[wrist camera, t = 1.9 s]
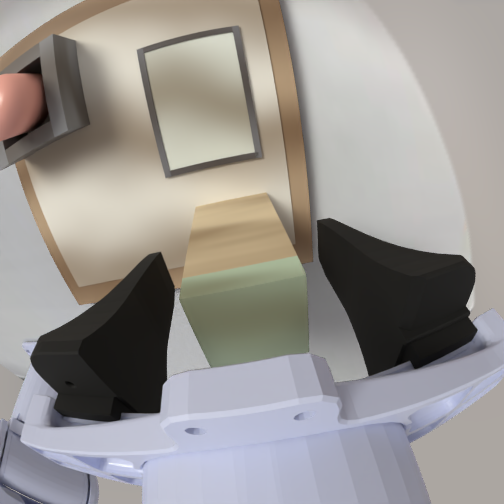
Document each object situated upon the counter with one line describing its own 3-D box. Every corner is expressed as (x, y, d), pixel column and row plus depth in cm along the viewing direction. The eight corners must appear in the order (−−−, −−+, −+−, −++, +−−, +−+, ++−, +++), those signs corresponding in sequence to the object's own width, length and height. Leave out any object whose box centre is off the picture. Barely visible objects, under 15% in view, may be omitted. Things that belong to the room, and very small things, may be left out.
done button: (57, 116, 9) (25, 123, 6) (17, 140, 9) (-14, 153, 6) (48, 62, 7) (16, 60, 5) (8, 91, 7) (-24, 96, 5)
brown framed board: (310, 256, 16) (326, 285, 14) (82, 299, 16) (67, 329, 14) (265, -40, 7) (275, -67, 5) (3, 59, 7) (-27, 60, 4)
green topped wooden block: (275, 252, 15) (308, 351, 9) (212, 265, 15) (212, 369, 9) (266, 192, 13) (306, 274, 7) (195, 206, 13) (179, 299, 7)
